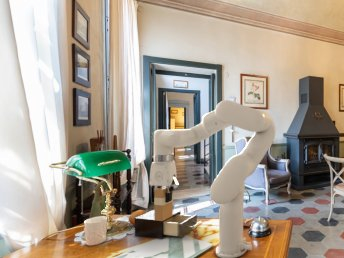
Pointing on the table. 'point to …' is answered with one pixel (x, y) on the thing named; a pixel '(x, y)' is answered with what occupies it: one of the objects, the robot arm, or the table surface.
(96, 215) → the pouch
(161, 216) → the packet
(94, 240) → the white cup
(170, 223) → the drawer
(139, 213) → the fruit
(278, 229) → the table surface
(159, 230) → the cabinet
